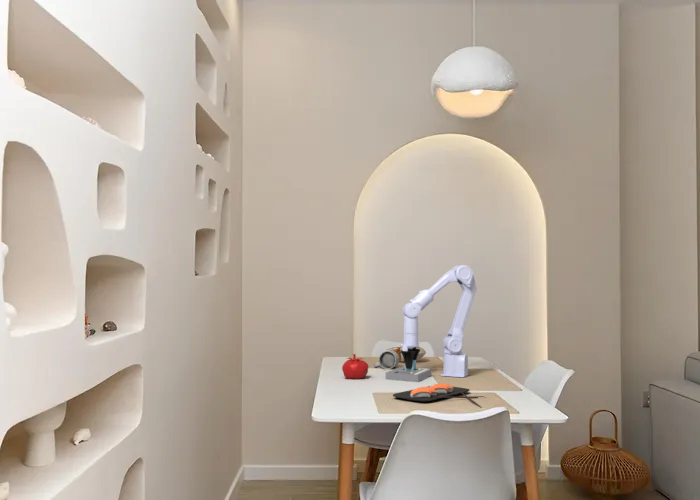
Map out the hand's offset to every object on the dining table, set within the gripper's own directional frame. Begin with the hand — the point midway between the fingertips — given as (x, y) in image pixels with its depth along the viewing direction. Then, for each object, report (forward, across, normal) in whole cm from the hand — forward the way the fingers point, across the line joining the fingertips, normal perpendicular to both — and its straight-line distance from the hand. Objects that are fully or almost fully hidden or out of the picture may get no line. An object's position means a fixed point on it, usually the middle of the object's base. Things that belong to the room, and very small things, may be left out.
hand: (410, 367), depth 290 cm
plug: (+3, 0, 0) cm, 3 cm away
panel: (+3, +5, +1) cm, 6 cm away
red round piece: (+3, +16, -17) cm, 24 cm away
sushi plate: (+4, +42, +28) cm, 51 cm away
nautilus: (+3, -39, -16) cm, 42 cm away
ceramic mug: (+3, -16, -16) cm, 23 cm away
